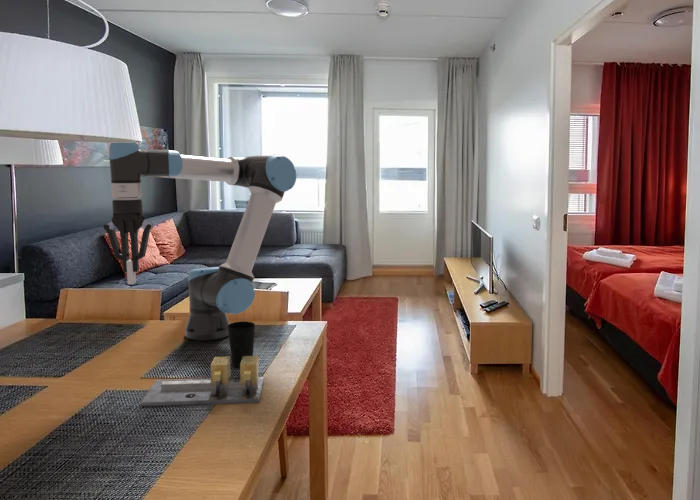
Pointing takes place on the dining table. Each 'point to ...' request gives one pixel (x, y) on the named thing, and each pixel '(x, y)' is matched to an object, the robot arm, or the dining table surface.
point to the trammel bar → (248, 380)
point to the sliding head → (220, 372)
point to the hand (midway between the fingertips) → (131, 283)
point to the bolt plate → (200, 395)
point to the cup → (241, 341)
